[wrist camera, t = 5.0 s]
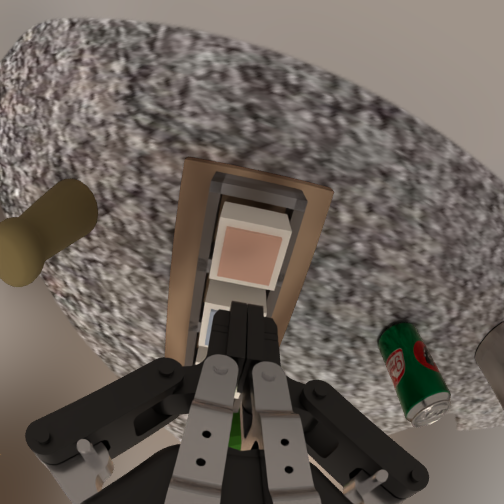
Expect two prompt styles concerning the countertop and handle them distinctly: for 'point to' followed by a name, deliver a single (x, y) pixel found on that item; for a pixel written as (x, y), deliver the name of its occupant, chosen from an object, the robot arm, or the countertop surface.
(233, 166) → the keypad
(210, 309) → the key
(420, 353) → the soda can
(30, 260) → the cork
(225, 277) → the key
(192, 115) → the countertop surface
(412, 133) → the countertop surface
